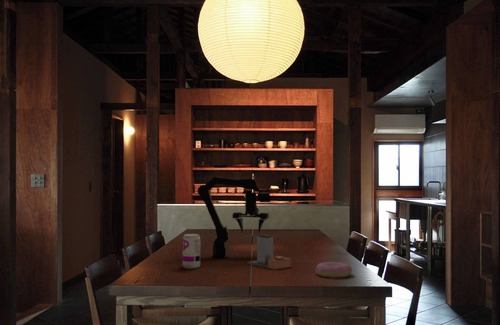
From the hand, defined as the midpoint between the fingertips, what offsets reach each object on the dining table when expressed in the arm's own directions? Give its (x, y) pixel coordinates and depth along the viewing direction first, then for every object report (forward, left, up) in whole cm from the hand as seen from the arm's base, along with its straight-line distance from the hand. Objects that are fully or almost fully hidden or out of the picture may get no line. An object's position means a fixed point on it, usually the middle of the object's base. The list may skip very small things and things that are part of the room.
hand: (250, 232), depth 266 cm
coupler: (+15, -23, -13) cm, 31 cm away
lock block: (+13, -22, -12) cm, 28 cm away
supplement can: (-19, -36, -13) cm, 43 cm away
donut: (+47, -38, -14) cm, 62 cm away
